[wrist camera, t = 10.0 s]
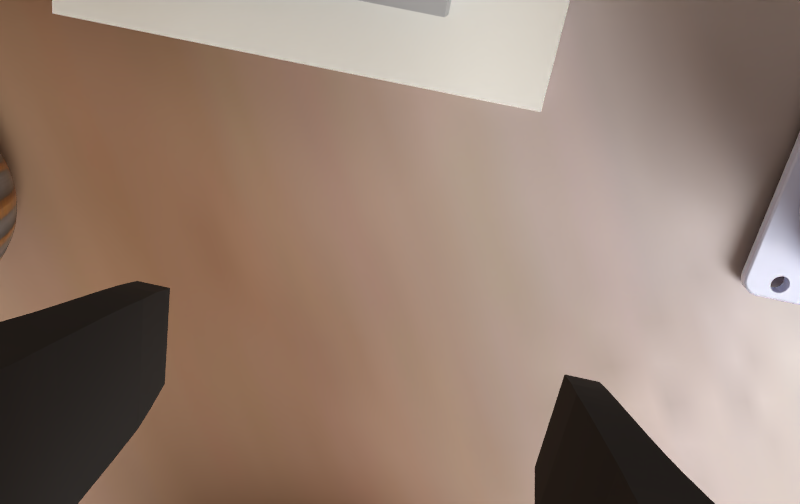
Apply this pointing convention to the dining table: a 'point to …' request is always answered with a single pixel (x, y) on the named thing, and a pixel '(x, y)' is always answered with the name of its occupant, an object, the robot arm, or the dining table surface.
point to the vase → (6, 206)
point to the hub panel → (370, 37)
